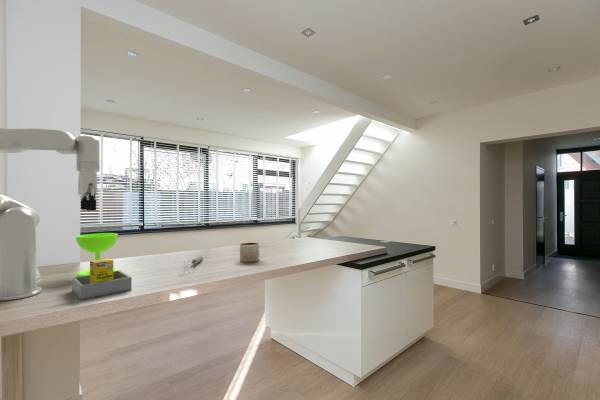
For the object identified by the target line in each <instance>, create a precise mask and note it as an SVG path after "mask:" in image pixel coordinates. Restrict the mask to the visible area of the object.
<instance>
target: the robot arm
mask: <svg viewBox="0 0 600 400" xmlns="http://www.w3.org/2000/svg"><path fill="white" fill-rule="evenodd" d="M100 144H101V143H100V139H99V138H98V137H95V136H91V135H80V136H77V137H76V136H73V135H72V134H71V133H69V132H67V131H65V130H60V129H59V130H58V129H46V128H4V127H3V128H1V127H0V153H2V154H3V153H5V154H17V153H22V152H26V151H55V152H57V153H59V154H62V155H75V156H76V159H75V160H76V171H77V172H78V179H77V195H78V196H80V210H82V211H97V197H96V195H97V194H98V174H97V173H100V170H101V169H100V161H101V160H100V156H101V155H100V153H101V152H100V151H101V149H100ZM39 223H40V215H39V213H38V211H36V210H35V209H34V208H31V207H29V206H27V205H26V204H23V203H20V202H19V201H17V200H14V199H12V198H10V197H8V196H6V195H3V194H1V193H0V301H12V300H13V301H14V300H18V299H23V298H27V297H33V296H35V295H38V294H40V293H41V292H42V291H43V289H42V287H41V286H37V236H36V227H37V226H38V225H39Z"/></svg>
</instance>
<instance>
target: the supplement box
mask: <svg viewBox="0 0 600 400" xmlns="http://www.w3.org/2000/svg"><path fill="white" fill-rule="evenodd" d="M113 268H114V259H110V258H103V259H102V258H100V260H95V259H94V260H89V270H90V284H92V283H98V282H104V281H109V280H113Z"/></svg>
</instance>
